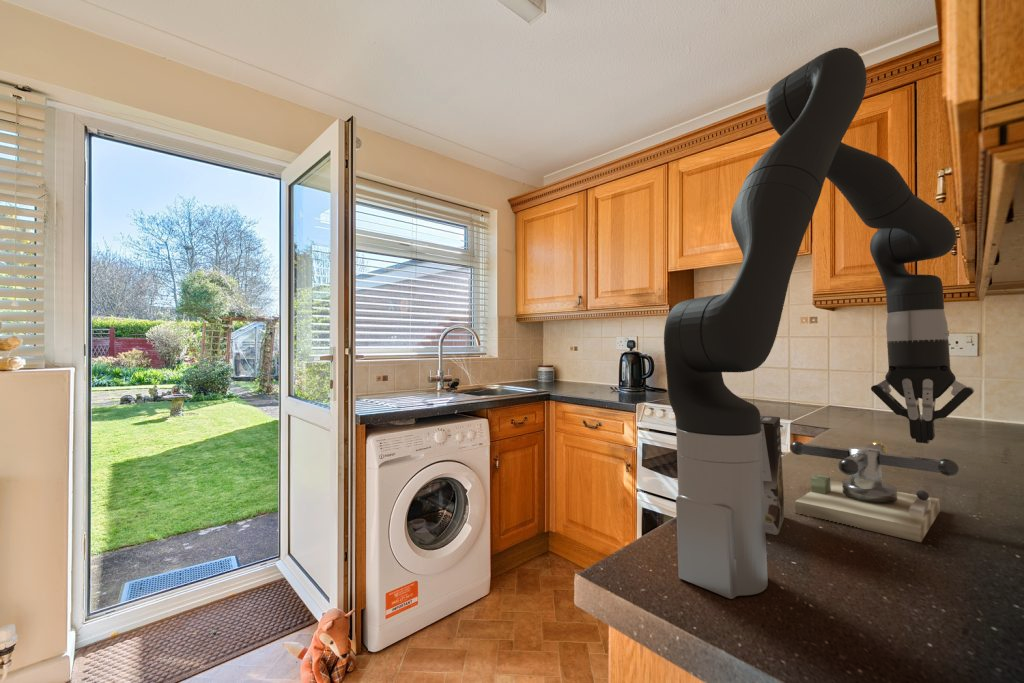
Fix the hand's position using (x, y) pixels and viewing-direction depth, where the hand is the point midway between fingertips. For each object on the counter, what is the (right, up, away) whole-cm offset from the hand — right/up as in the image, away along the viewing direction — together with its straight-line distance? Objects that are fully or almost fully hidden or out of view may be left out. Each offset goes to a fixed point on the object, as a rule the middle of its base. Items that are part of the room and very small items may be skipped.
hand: (923, 442), depth 72 cm
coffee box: (-30, -12, -4) cm, 32 cm away
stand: (-10, -11, -1) cm, 15 cm away
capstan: (-10, -9, -1) cm, 14 cm away
